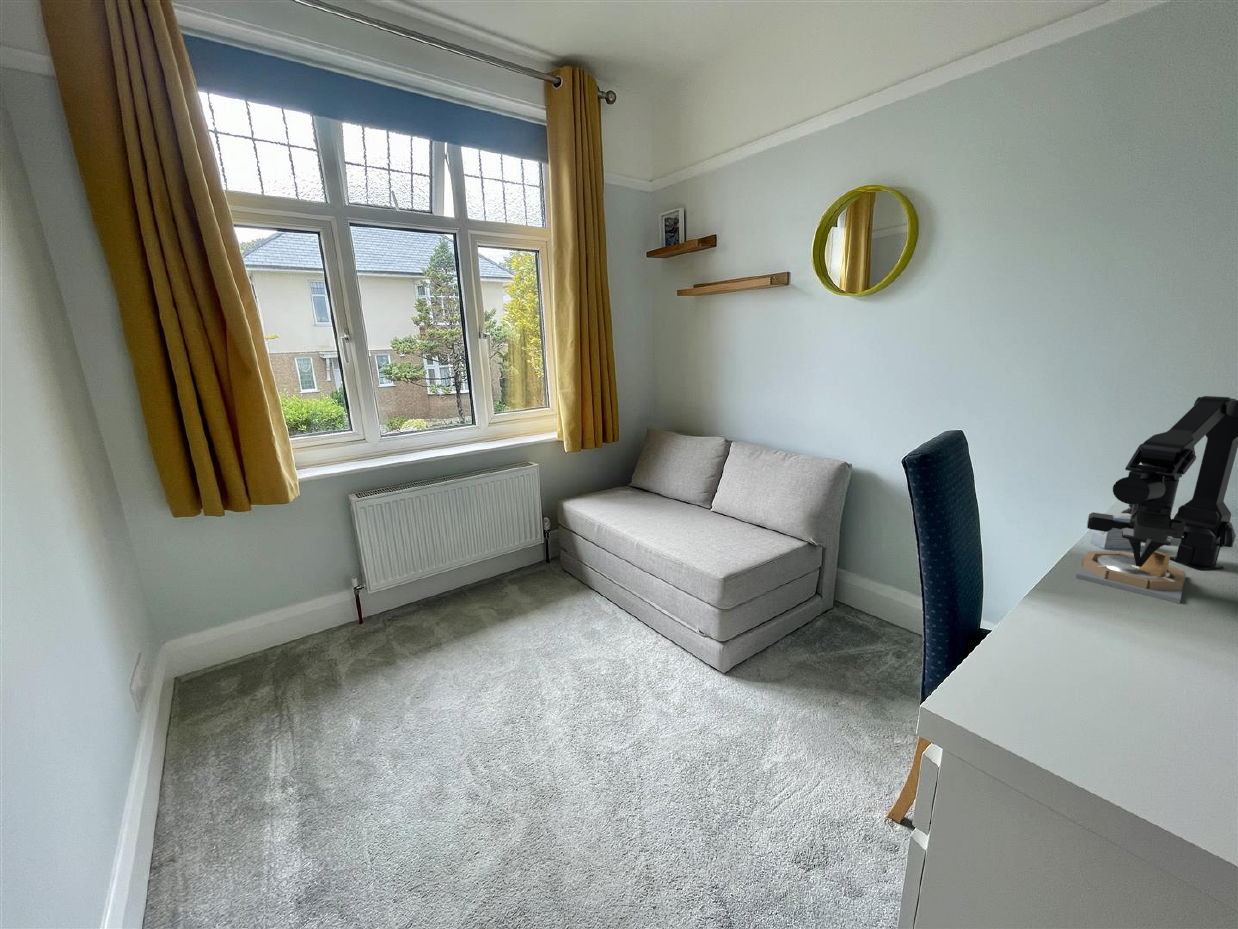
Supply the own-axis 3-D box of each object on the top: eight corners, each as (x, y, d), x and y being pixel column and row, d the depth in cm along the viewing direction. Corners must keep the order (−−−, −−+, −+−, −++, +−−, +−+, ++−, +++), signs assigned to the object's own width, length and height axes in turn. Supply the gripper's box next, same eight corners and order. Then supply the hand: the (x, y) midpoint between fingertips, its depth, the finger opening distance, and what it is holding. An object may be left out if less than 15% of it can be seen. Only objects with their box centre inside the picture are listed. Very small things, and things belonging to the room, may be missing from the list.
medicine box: (1121, 543, 131) (1128, 512, 130) (1136, 550, 127) (1144, 518, 125) (1089, 543, 132) (1095, 512, 130) (1103, 549, 128) (1110, 518, 126)
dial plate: (1089, 556, 124) (1092, 544, 124) (1184, 576, 112) (1187, 564, 111) (1076, 577, 113) (1078, 565, 113) (1179, 603, 101) (1182, 589, 100)
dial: (1082, 563, 118) (1087, 537, 116) (1127, 560, 118) (1133, 534, 117) (1136, 585, 106) (1142, 557, 105) (1185, 582, 107) (1192, 554, 105)
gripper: (1094, 498, 105) (1080, 565, 109) (1230, 516, 93) (1209, 592, 96) (1094, 488, 113) (1081, 551, 116) (1219, 503, 101) (1200, 573, 104)
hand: (1138, 566), depth 108 cm, fingers closed
